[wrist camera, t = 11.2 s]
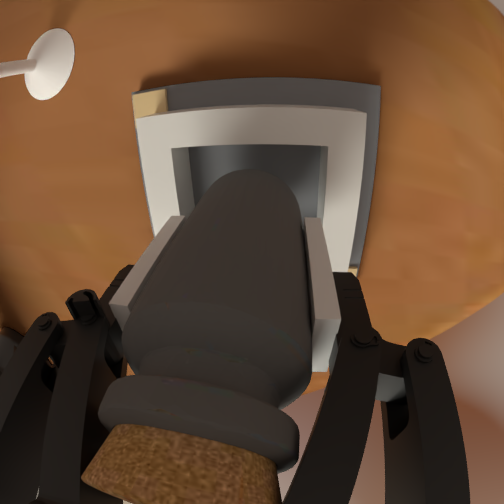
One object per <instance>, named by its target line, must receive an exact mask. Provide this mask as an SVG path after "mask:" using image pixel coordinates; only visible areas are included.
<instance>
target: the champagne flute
mask: <svg viewBox="0 0 504 504" xmlns="http://www.w3.org/2000/svg"><path fill="white" fill-rule="evenodd" d="M74 54H75V52H74V43H73V40H72V38H71V36H70V34H69V33H68V32H67V31H65V30H64V29H60V28H56V29H51V30H49V31H47V32H45V33H44V34H43V35H41V36H40V37H39V38H38V40H37V41H36V42H35V43H34V45H33V46H32V48H31V50H30V52H29V54H28V57H27V59H26V60H18V61H10V62H3V63H0V78H1V77H6V76H11V75H17V74H23V73H25V83H26V86H27V89H28V91H29V92H30V94H31V95H32V96H33V97H34V98H36V99H38V100H47V99H49V98H52V97H53V96H55V95H56V94H57V93H58V92H59V91H60V90H61V89H62V88H63V86H64V85H65V83H66V82H67V80H68V78H69V76H70V73H71V70H72V67H73V63H74Z"/></svg>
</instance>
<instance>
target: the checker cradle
mask: <svg viewBox="0 0 504 504" xmlns="http://www.w3.org/2000/svg"><path fill="white" fill-rule="evenodd" d="M380 94H381V86H377V85H371V84H364V83H356V82H348V81H338V80H327V79H313V78H286V77H263V78H236V79H221V80H209V81H200V82H191V83H183V84H176V85H170V86H164V87H158V88H152V89H147V90H142V91H137V92H132V103H133V113H134V122H135V130H136V138H137V146H138V153H139V159H140V166H141V172H142V178H143V184H144V190H145V195H146V201H147V206H148V211H149V216H150V221H151V226H152V230H153V235H154V238H155V236H156V235H157V234H158V232H159V231H160V230H161V228H162V227H163V226H164V225H165V223H166V222H167V221H168V219H169V218H170V217H171V216H185V217H186V220H187V218H188V217H189V215H190V214H191V212H192V211H193V210H194V208H195V207H196V205H197V204H198V202H199V201H200V199H201V198H202V196H203V195H204V194H205V192H206V191H207V190H208V189H209V187H210V186H211V185H212V184H213V183H214V182H215V181H216V180H218V179H219V178H220V177H222V176H223V175H225V174H227V173H230V172H232V171H236V170H242V169H256V170H262V171H265V172H268V173H270V174H272V175H274V176H276V177H278V178H279V179H281V180H282V181H283V182H285V183H286V184H287V185H288V187H289V188H290V189H291V190H292V192H293V193H294V195H295V197H296V199H297V201H298V204H299V208H300V212H301V218H302V227H303V233H304V217H311V218H320V219H321V223H322V227H323V231H324V236H325V240H326V244H327V249H328V254H329V258H330V263H331V268H332V272H352V273H353V274H354V276H355V277H356V278H357V275H358V270H359V265H360V261H361V256H362V251H363V246H364V240H365V235H366V229H367V223H368V217H369V211H370V204H371V197H372V190H373V182H374V174H375V165H376V156H377V145H378V132H379V117H380Z"/></svg>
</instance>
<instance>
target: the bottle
mask: <svg viewBox="0 0 504 504" xmlns="http://www.w3.org/2000/svg"><path fill="white" fill-rule="evenodd" d="M122 347H123V352H124V355H125V357H126V360H127V362H128V364H129V365H130V367H131V369H132V370H133V372H134V373H135V375H130V376H125V377H122V378H119V379H117V380H115V381H113V382H112V383H111V384H110V386H109V387H108V389H107V391H106V393H105V395H104V398H103V400H102V402H101V404H100V407H99V411H98V417H99V420H100V422H101V424H102V425H103V426H104V427H105V429H106V430H107V431H108V432H109V433H110V434H109V436H108V437H107V439H106V440H105V442H104V443H103V445H102V446H101V447H100V449H99V450H98V452H97V453H96V455H95V456H94V458H93V459H92V461H91V462H90V464H89V465H88V467H87V468H86V470H85V471H84V473H83V474H82V476H81V479H82V480H83V482H85V483H86V484H88V485H90V486H92V487H94V488H96V489H98V490H100V491H102V492H105V493H107V494H109V495H112V496H114V497H117V498H119V499H122V500H125V501H127V502H130V503H133V504H282V499H281V494H280V487H279V481H278V476H277V474H278V473H281V472H284V471H287V470H288V469H290V468H292V467H293V466H294V465H295V464H296V463H297V461H298V458H299V436H300V435H299V429H298V426H297V424H296V423H295V422H294V420H293V419H292V418H291V417H290V416H288V415H287V414H286V413H284V412H283V411H281V409H283V408H285V407H286V406H288V405H289V404H291V403H292V402H294V401H295V400H296V399H297V398H299V397H300V396H301V394H302V393H303V392H304V391H305V390H306V388H307V386H308V384H309V383H310V380H311V375H312V332H311V315H310V301H309V289H308V277H307V266H306V255H305V245H304V236H303V227H302V218H301V212H300V208H299V204H298V201H297V199H296V197H295V195H294V193H293V192H292V190H291V189H290V188H289V187H288V185H287V184H286V183H285V182H283V181H282V180H281V179H279V178H278V177H276V176H274V175H272V174H270V173H268V172H265V171H262V170H256V169H242V170H236V171H232V172H230V173H227V174H225V175H223V176H222V177H220V178H219V179H218V180H216V181H215V182H214V183H213V184H212V185H211V186H210V187H209V189H208V190H207V191H206V192H205V194H204V195H203V196H202V198H201V199H200V201H199V202H198V204H197V205H196V207H195V208H194V210H193V211H192V212H191V214H190V215H189V217H188V218H187V220H186V221H185V223H184V224H183V226H182V227H181V229H180V231H179V232H178V234H177V235H176V237H175V238H174V240H173V241H172V243H171V244H170V246H169V248H168V249H167V251H166V252H165V254H164V256H163V257H162V259H161V261H160V262H159V264H158V265H157V267H156V269H155V270H154V272H153V274H152V276H151V277H150V279H149V281H148V282H147V284H146V286H145V287H144V289H143V291H142V293H141V294H140V296H139V298H138V300H137V301H136V303H135V305H134V307H133V309H132V311H131V313H130V315H129V317H128V319H127V321H126V323H125V325H124V328H123V332H122Z"/></svg>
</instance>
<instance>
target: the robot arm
mask: <svg viewBox="0 0 504 504" xmlns="http://www.w3.org/2000/svg"><path fill="white" fill-rule="evenodd" d="M185 221H186V217H185V216H171V217H170V218H169V219H168V221H167V222H166V223H165V225H164V226H163V227H162V228H161V230H160V231H159V232H158V234H157V235H156V236H155V238H154V239H153V240H152V242H151V243H150V245H149V246H148V247H147V249H146V250H145V251H144V253H143V254H142V256H141V257H140V258H139V260H138V261H137V263H136V264H135V265H127V266H126V267H125V268H123V269H122V270H121V271H119V273H118V274H117V276H116V277H115V278H114V280H113V281H112V282H111V284H110V287H108V288H107V290H106V291H105V292H104V294H103V295H102V297H101V298H100V300H99V299H98V297H97V295H96V293H95V292H94V291H92V290H90V289H84V290H80V291H77V292H76V293H74V294H72V295H71V296H70V297H69V298H68V299H67V301H66V302H65V303H66V305H67V307H68V309H69V311H70V313H71V315H72V317H73V318H74V320H69V321H60V320H59V318H58V316H57V315H56V314H55V313H53V312H47V313H44V314H42V315H41V316H39V317H38V318H37V319H36V320H35V321H34V323H33V324H32V326H31V327H30V329H29V330H28V332H27V333H26V335H25V336H24V337H23V336H21V335H20V334H19V333H17V332H16V331H14V330H12V329H10V328H7V327H4V328H3V329H2V330H1V331H0V504H123V500H122V499H119V498H117V497H114V496H112V495H109V494H107V493H105V492H102V491H100V490H98V489H96V488H94V487H92V486H90V485H88V484H86V483H85V482H83V480H82V479H81V476H82V474H83V473H84V471H85V470H86V468H87V467H88V465H89V464H90V462H91V461H92V459H93V458H94V456H95V455H96V453H97V452H98V450H99V449H100V447H101V446H102V445H103V443H104V442H105V440H106V439H107V437H108V436H109V434H110V433H109V432H108V431H107V430H106V429H105V427H104V426H103V425H102V424H101V422H100V420H99V417H98V411H99V407H100V404H101V402H102V400H103V398H104V395H105V393H106V391H107V389H108V387H109V386H110V384H111V383H112V382H113V381H115V380H117V379H119V378H122V377H125V376H126V373H127V363H128V362H127V360H126V357H125V355H124V352H123V347H122V332H123V328H124V325H125V323H126V321H127V319H128V317H129V315H130V313H131V311H132V309H133V307H134V305H135V303H136V301H137V300H138V298H139V296H140V294H141V293H142V291H143V289H144V287H145V286H146V284H147V282H148V281H149V279H150V277H151V276H152V274H153V272H154V270H155V269H156V267H157V265H158V264H159V262H160V261H161V259H162V257H163V256H164V254H165V252H166V251H167V249H168V248H169V246H170V244H171V243H172V241H173V240H174V238H175V237H176V235H177V234H178V232H179V231H180V229H181V227H182V226H183V224H184V223H185ZM303 236H304V245H305V255H306V266H307V277H308V289H309V301H310V315H311V332H312V372H327V369H328V366H329V371H330V376H329V379H328V382H327V385H326V388H325V391H324V395H323V398H322V402H321V405H320V408H319V411H318V414H317V417H316V420H315V423H314V426H313V428H312V431H311V434H310V437H309V440H308V442H307V445H306V448H305V450H304V453H303V455H302V458H301V461H300V463H299V466H298V468H297V470H296V473H295V475H294V478H293V480H292V482H291V485H290V487H289V490H288V491H287V494H286V496H285V498H284V501H283V502H282V504H348V503H349V500H350V497H351V495H352V491H353V488H354V485H355V482H356V479H357V475H358V471H359V468H360V464H361V461H362V457H363V453H364V449H365V445H366V441H367V437H368V432H369V427H370V423H371V418H372V413H373V407H374V402H375V399H376V400H380V401H381V411H382V420H383V436H384V453H385V504H470V492H469V479H468V471H467V461H466V454H465V448H464V442H463V436H462V431H461V426H460V421H459V416H458V411H457V407H456V403H455V399H454V394H453V391H452V387H451V383H450V379H449V376H448V373H447V369H446V366H445V362H444V359H443V356H442V353H441V351H440V349H439V347H438V346H437V345H436V344H435V343H434V342H432V341H430V340H428V339H425V338H417V339H413V340H412V341H410V342H409V343H408V345H407V346H402V345H398V344H393V343H390V342H387V341H385V340H383V339H382V337H381V336H380V334H379V333H378V332H377V331H376V330H375V329H373V328H372V325H371V322H370V318H369V314H368V310H367V307H366V303H365V300H364V296H363V293H362V291H361V290H362V289H361V286H360V283H359V280H358V279H357V278H356V277H355V276H354V274H353V273H352V272H332V268H331V263H330V258H329V254H328V249H327V244H326V240H325V236H324V231H323V227H322V223H321V219H320V218H311V217H304V233H303ZM49 357H50V358H51V359H52V361H53V362H54V363H53V365H51V364H50V362H49V361H48V360H47V359H48V358H49ZM38 488H39V495H38V497H37V499H36V495H37V491H38ZM35 499H36V500H35Z"/></svg>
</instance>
